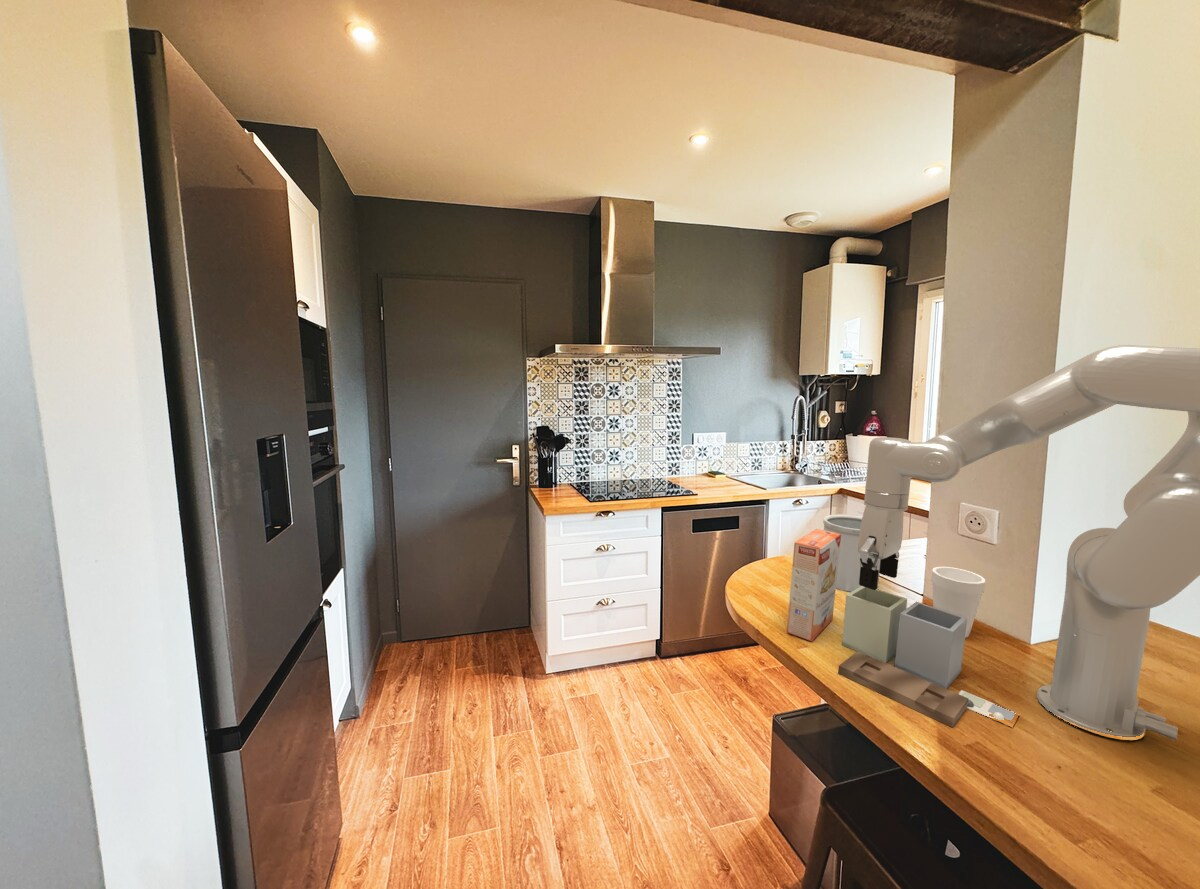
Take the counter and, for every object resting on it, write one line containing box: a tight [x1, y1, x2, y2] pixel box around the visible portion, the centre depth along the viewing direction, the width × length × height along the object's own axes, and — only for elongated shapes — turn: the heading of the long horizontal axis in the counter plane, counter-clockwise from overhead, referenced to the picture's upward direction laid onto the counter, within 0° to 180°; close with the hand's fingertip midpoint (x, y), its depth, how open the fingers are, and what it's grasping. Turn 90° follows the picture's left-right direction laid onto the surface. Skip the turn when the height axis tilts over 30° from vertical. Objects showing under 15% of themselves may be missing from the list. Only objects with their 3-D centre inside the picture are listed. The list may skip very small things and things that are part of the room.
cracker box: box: [786, 528, 841, 643], centre depth 106 cm, size 14×6×21 cm, turn 137°
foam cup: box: [930, 566, 986, 639], centre depth 106 cm, size 10×9×13 cm
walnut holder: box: [837, 651, 969, 728], centre depth 85 cm, size 18×8×2 cm, turn 39°
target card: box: [958, 689, 1017, 721], centre depth 80 cm, size 8×5×1 cm, turn 39°
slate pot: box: [894, 601, 967, 689], centre depth 91 cm, size 8×8×11 cm
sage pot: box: [841, 586, 908, 664], centre depth 98 cm, size 8×8×11 cm
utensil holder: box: [822, 514, 880, 593], centre depth 130 cm, size 15×15×18 cm
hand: (878, 581), depth 97 cm, fingers open, 9 cm apart
